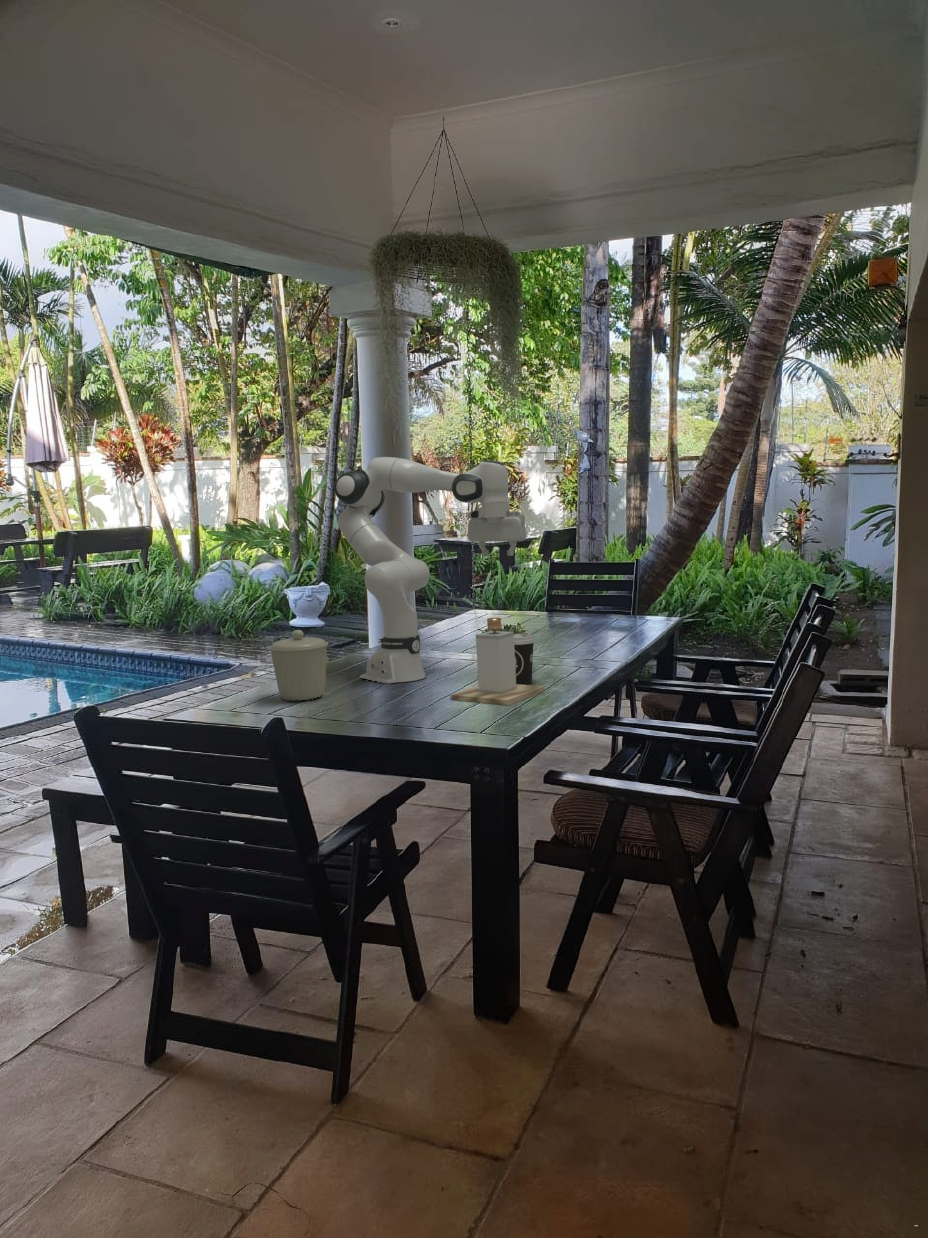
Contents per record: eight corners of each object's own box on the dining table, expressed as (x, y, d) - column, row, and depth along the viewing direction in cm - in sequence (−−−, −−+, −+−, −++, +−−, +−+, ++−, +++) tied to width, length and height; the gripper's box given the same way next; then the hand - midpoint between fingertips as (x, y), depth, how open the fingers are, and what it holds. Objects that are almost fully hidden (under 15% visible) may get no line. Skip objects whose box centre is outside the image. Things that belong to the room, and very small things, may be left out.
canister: (326, 689, 311) (321, 623, 308) (337, 700, 294) (332, 630, 291) (268, 696, 305) (263, 629, 303) (276, 707, 288) (271, 636, 285)
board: (450, 699, 286) (450, 694, 286) (488, 686, 302) (488, 681, 302) (508, 705, 274) (507, 700, 274) (544, 691, 290) (544, 686, 290)
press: (478, 692, 287) (475, 634, 285) (498, 685, 296) (495, 629, 293) (501, 694, 282) (498, 636, 280) (520, 687, 291) (518, 630, 289)
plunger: (483, 688, 287) (480, 619, 284) (494, 685, 292) (491, 616, 289) (500, 690, 284) (496, 620, 281) (511, 686, 288) (507, 617, 286)
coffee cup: (534, 686, 299) (532, 637, 297) (503, 686, 301) (501, 638, 299) (538, 680, 308) (536, 632, 306) (508, 680, 310) (506, 633, 308)
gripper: (529, 510, 306) (531, 554, 308) (475, 512, 318) (477, 555, 320) (518, 511, 301) (520, 556, 303) (464, 513, 313) (466, 556, 314)
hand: (497, 555), depth 311 cm, fingers open, 8 cm apart
